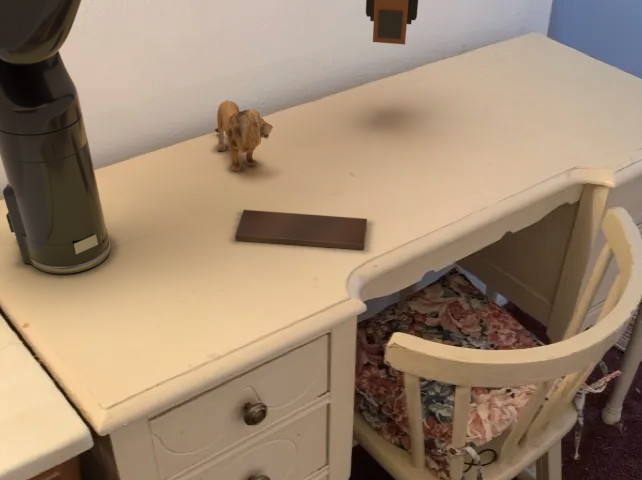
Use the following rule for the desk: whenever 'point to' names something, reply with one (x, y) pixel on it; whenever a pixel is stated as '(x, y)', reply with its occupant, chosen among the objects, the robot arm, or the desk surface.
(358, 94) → the desk surface
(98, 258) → the robot arm
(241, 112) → the lion figurine
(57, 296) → the desk surface
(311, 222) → the walnut board
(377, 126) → the desk surface
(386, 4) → the brown cardboard box
